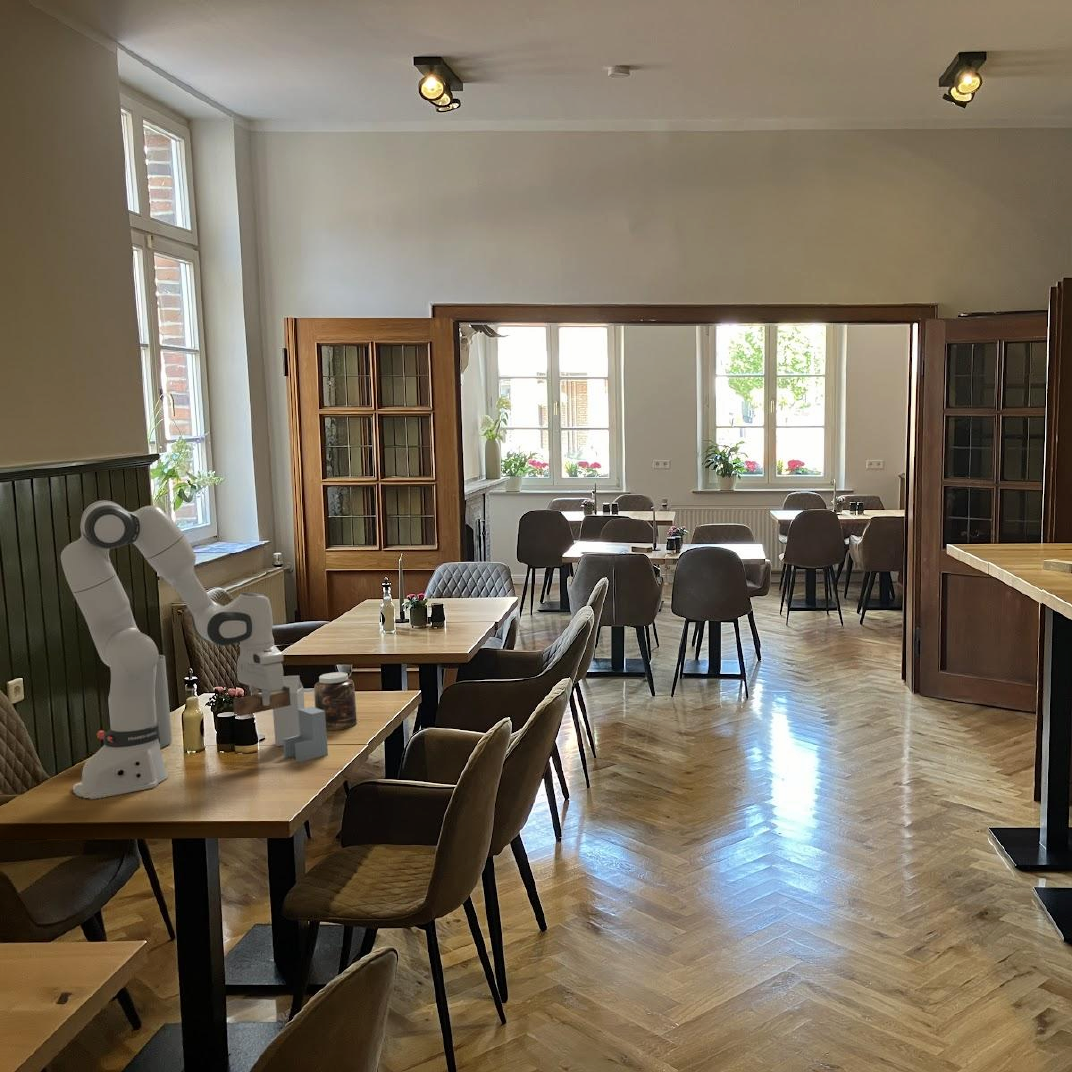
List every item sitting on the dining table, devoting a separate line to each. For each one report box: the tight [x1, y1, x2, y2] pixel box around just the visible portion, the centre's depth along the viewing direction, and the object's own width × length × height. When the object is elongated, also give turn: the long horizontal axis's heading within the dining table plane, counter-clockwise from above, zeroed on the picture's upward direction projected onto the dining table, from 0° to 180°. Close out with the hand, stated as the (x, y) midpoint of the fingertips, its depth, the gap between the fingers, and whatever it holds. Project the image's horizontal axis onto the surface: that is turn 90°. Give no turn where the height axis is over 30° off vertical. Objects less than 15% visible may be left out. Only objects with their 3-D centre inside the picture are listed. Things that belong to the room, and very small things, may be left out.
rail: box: [232, 685, 291, 717], centre depth 286 cm, size 15×4×5 cm, turn 131°
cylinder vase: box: [155, 654, 173, 749], centre depth 303 cm, size 12×12×25 cm
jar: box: [313, 671, 358, 731], centre depth 316 cm, size 12×12×15 cm
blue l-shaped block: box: [283, 706, 329, 763], centre depth 286 cm, size 9×7×12 cm
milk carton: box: [272, 675, 306, 747], centre depth 299 cm, size 7×7×19 cm
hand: (261, 703), depth 286 cm, fingers closed on rail, 4 cm apart
